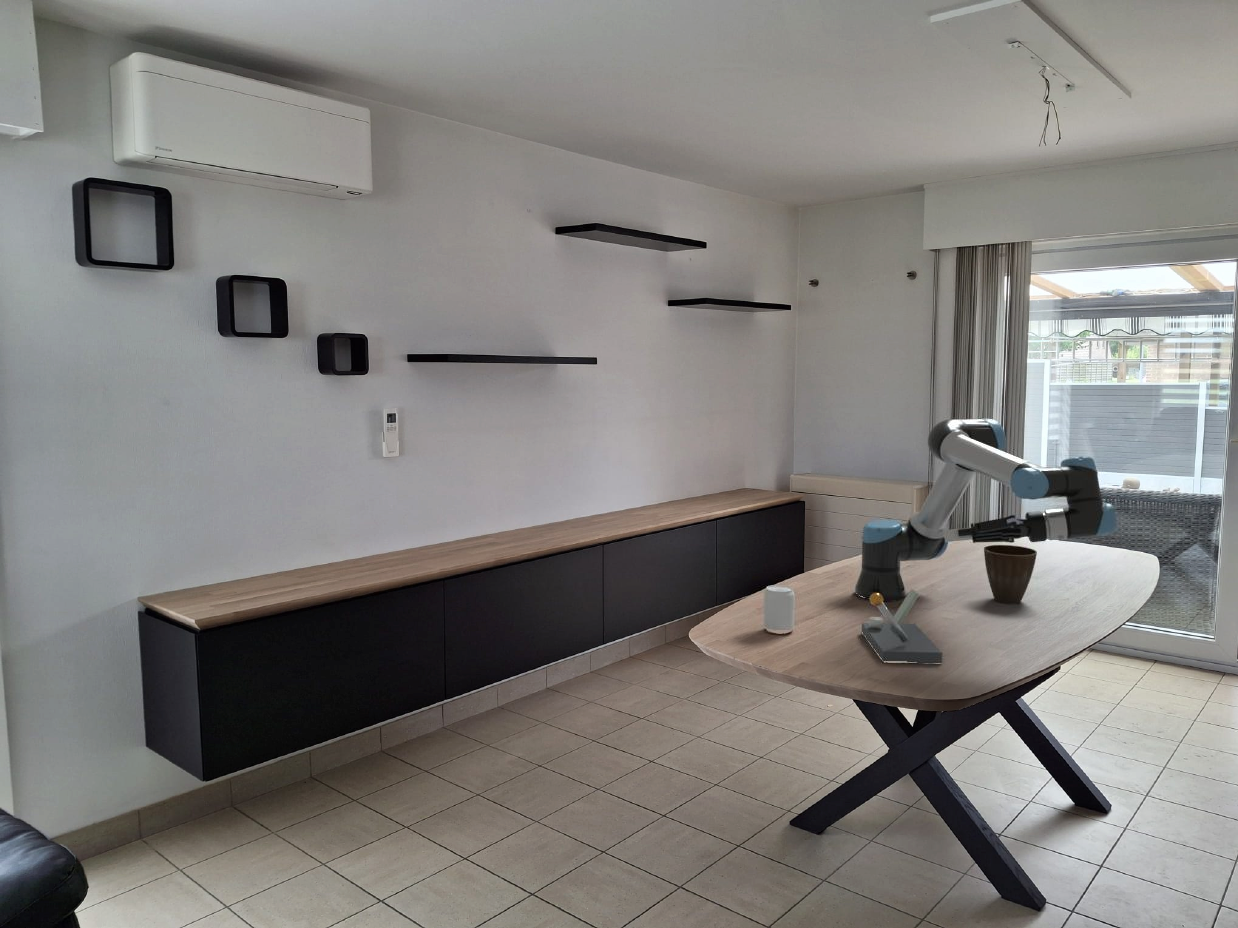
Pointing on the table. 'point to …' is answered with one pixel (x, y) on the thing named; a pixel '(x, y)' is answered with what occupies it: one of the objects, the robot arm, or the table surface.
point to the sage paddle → (906, 606)
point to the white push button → (875, 622)
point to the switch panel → (902, 644)
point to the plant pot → (1009, 571)
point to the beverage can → (779, 607)
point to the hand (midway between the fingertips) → (944, 536)
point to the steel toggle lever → (888, 615)
